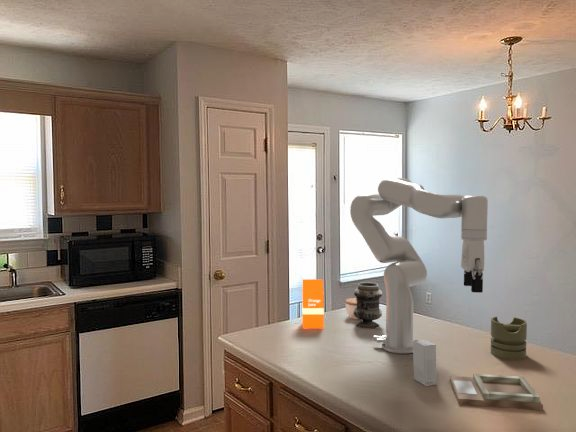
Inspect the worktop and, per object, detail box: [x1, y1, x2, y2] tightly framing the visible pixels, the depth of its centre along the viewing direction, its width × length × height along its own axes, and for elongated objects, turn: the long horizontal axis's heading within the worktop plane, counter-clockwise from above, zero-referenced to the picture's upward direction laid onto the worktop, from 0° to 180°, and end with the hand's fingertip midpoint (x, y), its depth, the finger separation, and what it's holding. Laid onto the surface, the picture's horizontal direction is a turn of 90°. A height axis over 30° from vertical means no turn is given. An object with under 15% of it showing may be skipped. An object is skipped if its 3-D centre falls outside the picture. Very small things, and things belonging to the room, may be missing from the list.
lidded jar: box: [344, 296, 360, 320], centre depth 217 cm, size 11×11×9 cm
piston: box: [490, 316, 528, 361], centre depth 167 cm, size 11×12×11 cm
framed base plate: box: [449, 373, 544, 411], centre depth 134 cm, size 21×16×3 cm
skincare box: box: [412, 338, 438, 387], centre depth 143 cm, size 6×4×12 cm
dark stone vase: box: [353, 281, 383, 330], centre depth 203 cm, size 12×12×18 cm
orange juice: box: [301, 278, 325, 329], centre depth 204 cm, size 8×9×20 cm
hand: (472, 288), depth 151 cm, fingers open, 9 cm apart
